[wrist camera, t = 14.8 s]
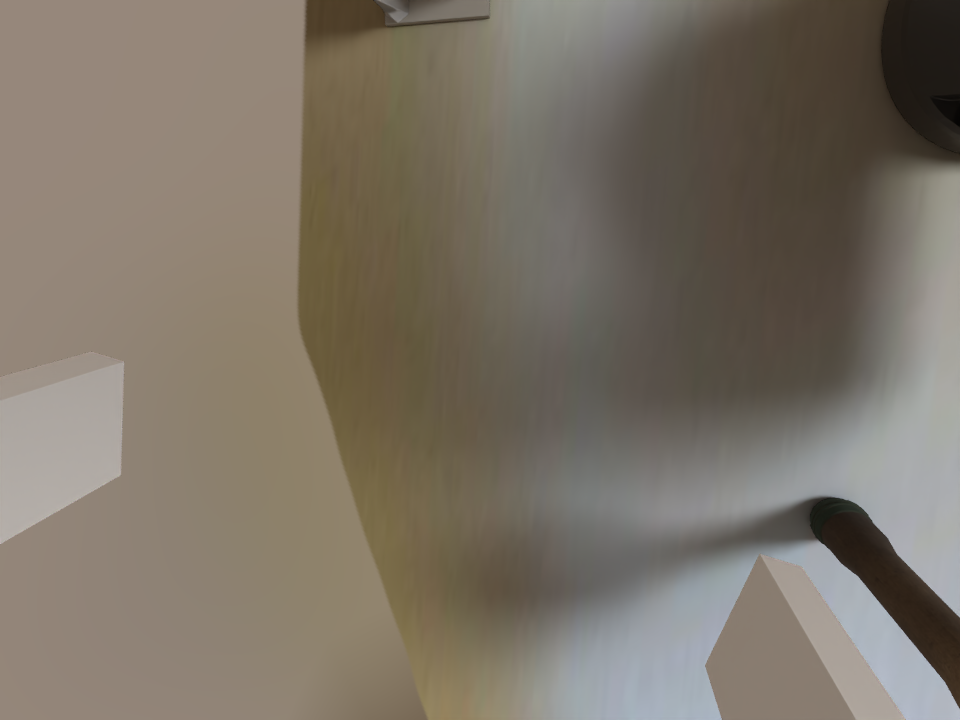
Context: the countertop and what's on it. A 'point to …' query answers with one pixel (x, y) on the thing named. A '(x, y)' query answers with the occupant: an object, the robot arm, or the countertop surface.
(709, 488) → the countertop surface
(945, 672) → the stick grenade
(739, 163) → the countertop surface
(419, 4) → the skyscraper
